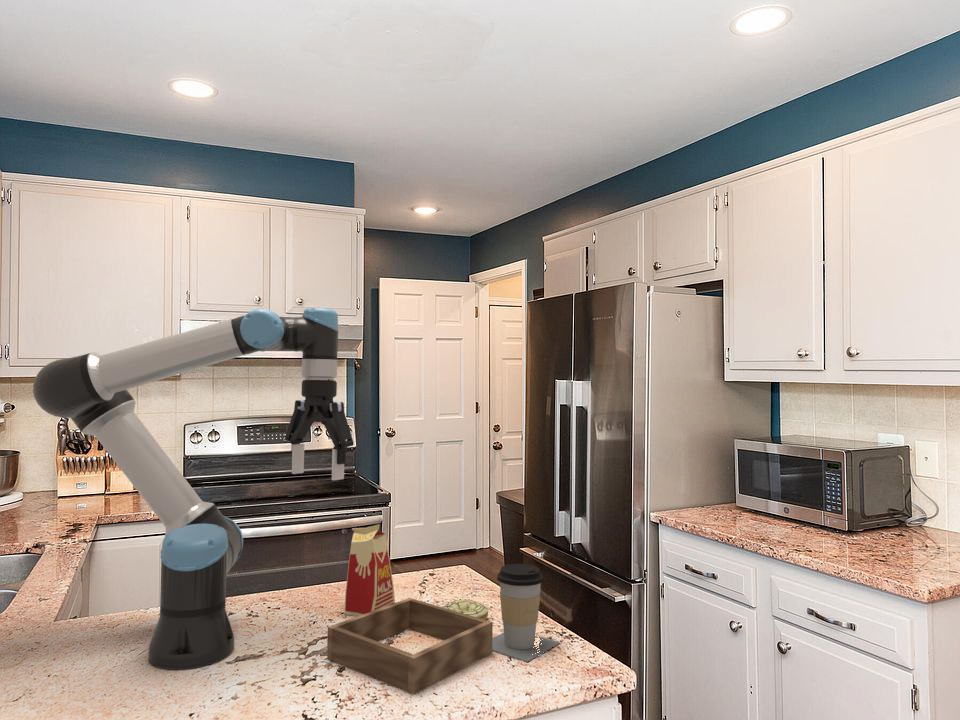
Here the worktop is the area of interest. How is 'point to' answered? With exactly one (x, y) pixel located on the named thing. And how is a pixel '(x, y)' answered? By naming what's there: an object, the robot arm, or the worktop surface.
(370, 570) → the milk carton
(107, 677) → the worktop surface
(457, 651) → the frame
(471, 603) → the decorated donut
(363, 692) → the worktop surface
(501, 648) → the mat
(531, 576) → the coffee cup
